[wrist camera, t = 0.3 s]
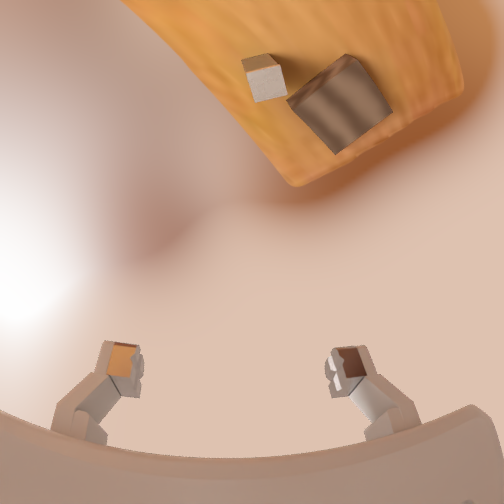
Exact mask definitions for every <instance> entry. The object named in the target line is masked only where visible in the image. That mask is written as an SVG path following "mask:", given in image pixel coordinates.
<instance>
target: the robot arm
mask: <svg viewBox="0 0 504 504" xmlns="http://www.w3.org/2000/svg"><path fill="white" fill-rule="evenodd" d="M331 355H332V356H330V357H328V358H327V360H326V362H325V374H326V377H327V378H328V379H329V380H330V384H329V389H330V393H331V397H332V398H337V397H345V396H349V398H350V399H351V401H352V402H353V403H354V404H355V405H356V406H357V407H358V408H359V409H360V410H361V411H362V413H363V414H364V415H365V416H366V417H367V418H368V419H369V420H370V421H371V422H372V424H371V425H370V426H368V427H367V428H366V429H365V431H364V434H365V437H366V441H365V442H361V443H357V444H352V445H348V446H343V447H338V448H333V449H328V450H321V451H315V452H308V453H301V454H292V455H283V456H271V457H255V458H196V457H181V456H170V455H160V454H152V453H145V452H138V451H132V450H126V449H121V448H116V447H111V446H106V444H107V436H108V435H107V433H106V432H105V431H104V430H103V429H102V428H101V427H100V426H99V425H98V424H99V423H100V422H101V421H102V419H103V418H104V417H105V416H106V415H107V413H108V412H109V411H110V410H111V409H112V407H113V406H114V405H115V404H116V403H117V401H118V400H119V399H120V398H121V396H125V397H134V398H140V391H141V382H140V380H139V379H140V378H141V377H142V376H143V372H144V360H143V356H142V355H141V354H140V347H139V345H136V344H127V343H120V342H113V341H106V340H105V341H104V342H103V344H102V347H101V350H100V353H99V357H98V360H97V364H96V367H95V371H94V373H92V372H91V373H90V374H89V375H88V376H86V377H85V378H84V379H83V380H82V381H81V382H80V383H79V384H78V385H77V386H75V387H74V388H73V389H72V390H71V391H70V392H69V393H68V394H67V395H66V396H65V397H64V398H63V399H61V400H60V401H59V402H58V403H57V406H56V409H55V413H54V417H53V421H52V425H51V430H48V429H46V428H43V427H40V426H37V425H35V424H32V423H29V422H27V421H24V420H22V419H19V418H17V417H15V416H12V415H10V414H8V413H6V412H4V411H2V410H0V504H504V458H503V454H502V450H501V446H500V442H499V439H498V435H497V432H496V429H495V426H494V424H493V422H492V420H491V418H490V417H489V416H488V415H487V414H486V413H485V412H483V411H482V410H481V409H479V408H478V407H476V406H475V405H467V406H465V407H463V408H461V409H458V410H456V411H454V412H452V413H450V414H447V415H445V416H442V417H440V418H438V419H435V420H432V421H430V422H427V423H424V424H421V421H420V418H419V415H418V413H417V410H416V407H415V405H414V402H413V401H412V400H411V399H409V398H408V397H407V396H406V395H405V394H403V393H402V392H401V391H400V390H399V389H397V388H396V387H395V386H394V385H393V384H391V383H390V382H389V381H388V380H387V379H386V378H384V377H383V376H382V375H381V374H377V372H376V369H375V366H374V364H373V362H372V359H371V356H370V354H369V351H368V349H367V347H366V346H365V345H360V346H348V347H338V348H334V349H332V351H331Z"/></svg>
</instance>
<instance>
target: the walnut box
mask: <svg viewBox="0 0 504 504" xmlns="http://www.w3.org/2000/svg"><path fill="white" fill-rule="evenodd" d="M286 101H287V102H288V104H289V106H290V107H291V109H292V110H293V111H294V112H295V113H296V114H297V115H298V116H299V117H300V118H301V119H302V120H303V121H304V122H305V123H306V124H307V125H308V126H309V127H310V128H311V129H312V131H313V132H314V133H315V134H316V135H317V136H318V137H319V138H320V139H321V140H322V141H323V142H324V143H325V144H326V145H327V146H328V148H329V149H330V150H331V151H332V152H333V153H334V154H335V155H336V154H337V153H339V152H340V151H341V150H343V149H344V148H345V147H347V146H348V145H349V144H351V143H352V142H353V141H355V140H356V139H357V138H359V137H360V136H361V135H363V134H364V133H365V132H367V131H368V130H369V129H371V128H372V127H373V126H375V125H376V124H378V123H379V122H380V121H382V120H383V119H384V118H386V117H387V116H388V115H390V114H391V113H393V111H392V109H391V108H390V106H389V104H388V103H387V101H386V100H385V98H384V97H383V95H382V93H381V92H380V90H379V89H378V87H377V86H376V85H375V83H374V82H373V80H372V79H371V77H370V76H369V75H368V73H367V72H366V70H365V69H364V68H363V66H362V65H361V64H360V62H359V61H358V60H357V59H355V58H353V57H351V56H349V55H347V54H345V55H343V56H342V57H340V58H339V59H338V60H336V61H335V62H334V63H332V64H331V65H330V66H328V67H327V68H326V69H325V70H323V71H322V72H321V73H319V74H318V75H317V76H316V77H314V78H313V79H312V80H311V81H309V82H308V83H307V84H306V85H304V86H303V87H302V88H301V89H299V90H298V91H297V92H296V93H295V94H293V95H292V96H291V97H290V98H289V99H287V100H286Z"/></svg>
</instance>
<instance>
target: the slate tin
mask: <svg viewBox="0 0 504 504" xmlns="http://www.w3.org/2000/svg"><path fill="white" fill-rule="evenodd" d="M241 61H242V64H243V67H244V70H245V73H246V76H247V79H248V82H249V85H250V88H251V91H252V95H253V98H254V101H255V103H256V102H260V101H264V100H268V99H272V98H276V97H280V96H285V95H288V94H287V90H286V86H285V82H284V78H283V74H282V70H281V66H280V64H277V62H276V61H275V60H274V59H273V58H272V57H271V56H270V55H269V54H268V53H267V54H263V55H259V56H255V57H251V58H247V59H243V60H241Z"/></svg>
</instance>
